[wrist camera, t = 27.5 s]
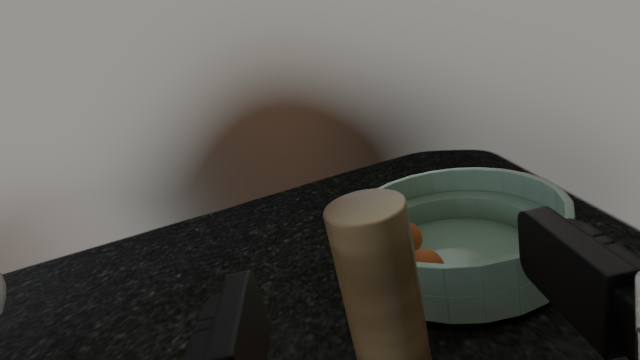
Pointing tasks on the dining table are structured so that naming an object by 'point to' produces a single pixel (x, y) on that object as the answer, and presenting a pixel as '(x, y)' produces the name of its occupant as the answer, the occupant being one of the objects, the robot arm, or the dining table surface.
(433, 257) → the bead
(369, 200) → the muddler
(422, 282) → the pale green shallow dish
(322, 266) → the dining table surface
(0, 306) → the ceramic bowl
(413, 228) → the bead
